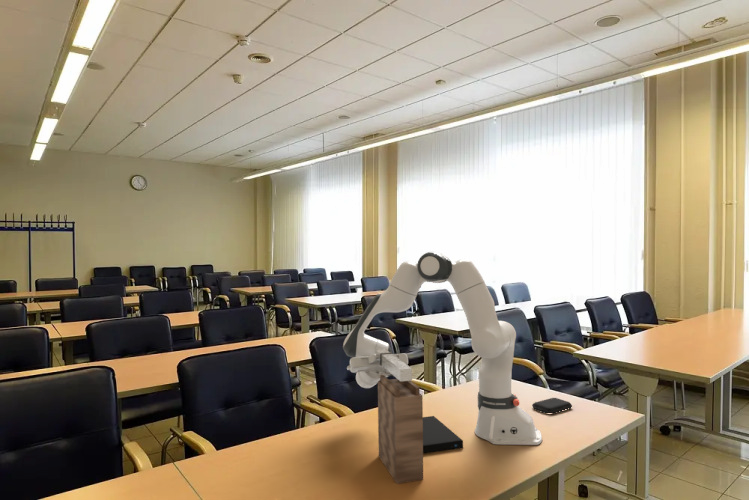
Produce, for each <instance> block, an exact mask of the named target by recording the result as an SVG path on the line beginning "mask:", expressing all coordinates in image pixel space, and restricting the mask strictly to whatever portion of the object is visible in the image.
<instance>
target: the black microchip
mask: <svg viewBox="0 0 749 500" xmlns="http://www.w3.org/2000/svg"><path fill="white" fill-rule="evenodd" d="M571 407H572V408H573V405H572V403H571V402H570V401H567V400H564V399H560V398H558V397H551V398H547V399H544V400H543V399H542V400H540V401H535V402H533V403H532V408H533V409H534V410H535V409H536V410H535V411H537V410H539V411H538V412H540V411H542V412H541V413H543V412H545V413H555V414H557V413H556V412H559V411H562V410H565V409H568V408H571ZM562 412H563V411H562ZM545 413H544V414H545ZM559 413H560V412H559Z"/></svg>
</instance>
